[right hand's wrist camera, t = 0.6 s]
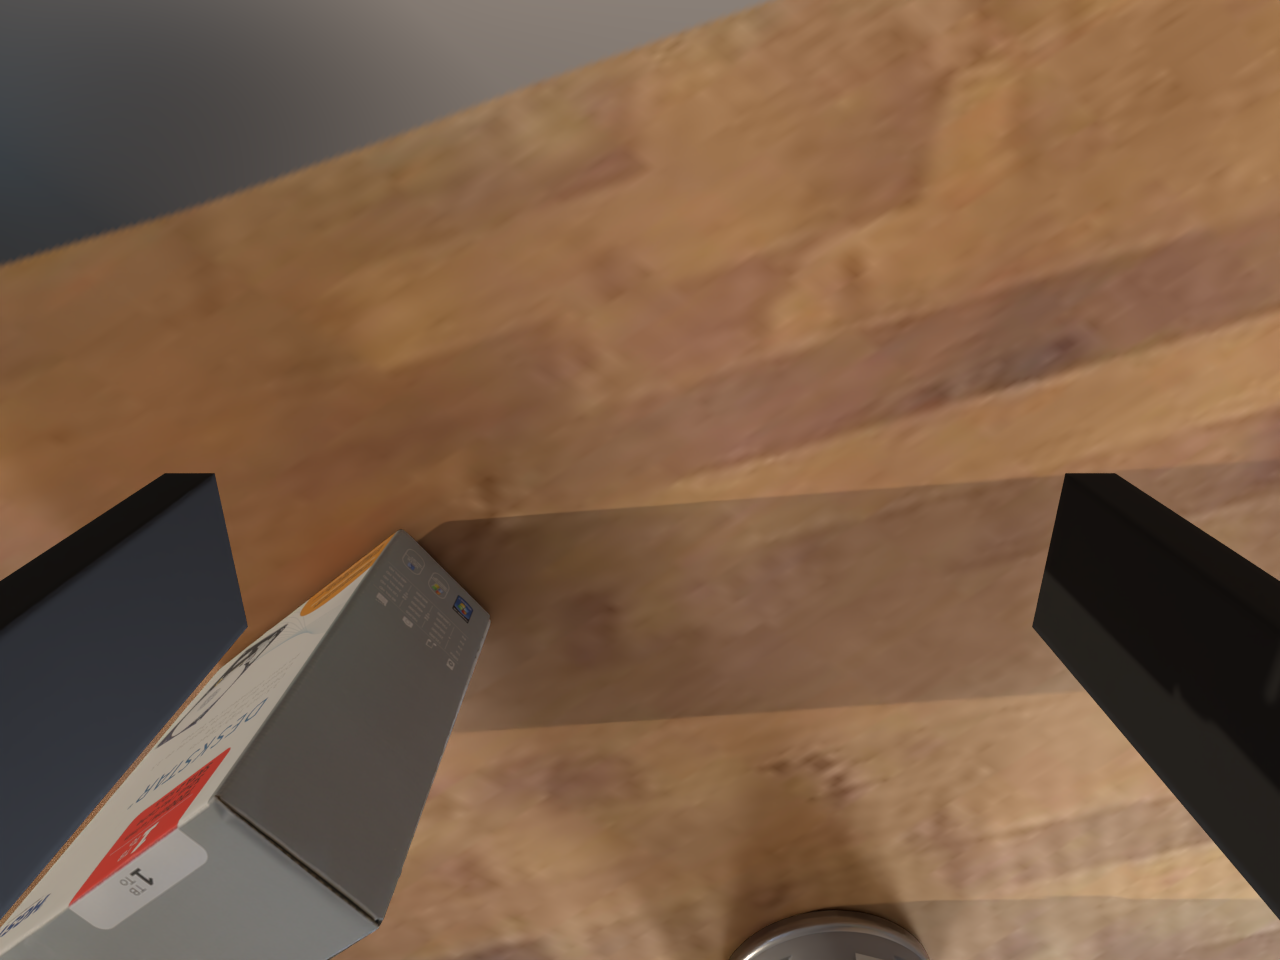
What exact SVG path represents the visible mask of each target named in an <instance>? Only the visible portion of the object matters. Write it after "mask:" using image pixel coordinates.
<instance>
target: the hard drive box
mask: <svg viewBox="0 0 1280 960" xmlns="http://www.w3.org/2000/svg"><path fill="white" fill-rule="evenodd" d="M489 618H490V615H489V614H488V613H487V612H486V611H485V610H484V609H483V608H482V607H481V606H480V605H479V604H478V603H477V602H476V601H475V600H474V599H473V598H472V597H471V596H470V595H469V594H468V593H467V592H466V591H465V590H464V589H463V588H462V587H461V586H460V585H459V584H458V583H457V582H456V581H455V580H454V579H453V578H452V577H451V576H450V575H449V574H448V573H447V572H446V571H445V570H444V569H443V568H442V567H441V566H440V565H439V564H438V563H437V562H436V561H435V560H434V559H433V558H432V557H431V556H430V555H429V554H428V553H427V552H426V551H425V550H424V549H423V548H422V547H421V546H420V545H419V544H418V543H417V542H416V541H415V540H414V539H413V538H412V537H411V536H410V535H409V534H408V533H407V532H405V531H404V530H401V529H400V530H398V531H397V532H395V533H394V534H393V535H391V536H390V537H389V538H387V539H386V540H385V541H383V542H382V543H381V544H380V545H378V546H377V547H376V548H374V549H373V550H372V551H371V552H369V553H368V554H367V555H365V556H364V557H363V558H361V559H360V560H359V561H357V562H356V563H355V564H354V565H352V566H351V567H350V568H349V569H347V570H346V571H345V572H343V573H342V574H341V575H340V576H338V577H337V578H336V579H335V580H333V581H332V582H331V583H329V584H328V585H327V586H326V587H324V588H323V589H322V590H320V591H319V592H318V593H317V594H315V595H314V596H313V597H312V598H310V599H309V600H308V601H306V602H305V603H304V604H302V605H301V606H300V607H298V608H297V609H296V610H295V611H293V612H292V613H291V614H290V615H288V616H287V617H286V618H284V619H283V620H282V621H280V622H279V623H278V624H277V625H275V626H274V627H273V628H271V629H270V630H268V631H267V632H266V633H265V634H263V635H262V636H261V637H260V638H259V639H257V640H256V641H255V642H253V643H252V644H251V645H249V646H248V647H247V648H246V649H244V650H243V651H242V652H241V653H239V654H238V655H237V656H236V657H235V658H233V659H232V660H231V661H229V662H228V663H227V664H225V665H224V666H223V667H222V668H220V669H219V671H218V672H217V673H216V674H215V675H214V676H213V677H212V678H211V680H210V681H209V682H208V683H207V684H206V686H205V687H204V688H203V689H202V690H201V691H200V693H199V694H198V695H197V696H196V697H195V698H194V700H193V701H192V702H191V703H190V704H189V705H188V706H187V708H186V709H185V710H184V711H183V712H182V714H181V715H180V716H179V717H178V718H177V719H176V721H175V722H174V723H173V724H172V725H171V727H170V728H169V729H168V730H167V731H166V733H165V734H164V735H163V736H162V737H161V739H160V740H159V741H158V742H157V743H156V745H155V746H154V747H153V748H152V749H151V751H150V752H149V753H148V754H147V755H146V757H145V758H144V759H143V760H142V761H141V762H140V764H139V765H138V766H137V767H136V768H135V770H134V771H133V772H132V773H131V774H130V776H129V777H128V778H127V779H126V780H125V781H124V783H123V784H122V785H121V786H120V787H119V788H118V790H117V791H116V792H115V793H114V794H113V795H112V797H111V798H110V799H109V800H108V801H107V803H106V804H105V805H104V806H103V807H102V809H101V810H100V811H99V812H98V813H97V815H96V816H95V817H94V818H93V819H92V820H91V822H90V823H89V824H88V825H87V826H86V827H85V829H84V830H83V831H82V832H81V833H80V834H79V835H78V837H77V838H76V839H75V840H74V841H73V843H72V844H71V845H70V846H69V847H68V849H67V850H66V851H65V852H64V853H63V854H62V856H61V857H60V858H59V859H58V860H57V862H56V863H55V864H54V865H53V866H52V867H51V869H50V870H49V871H48V872H47V873H46V875H45V876H44V877H43V878H42V879H41V880H40V882H39V883H38V884H37V885H36V886H35V888H34V889H33V890H32V891H31V892H30V893H29V895H28V896H27V897H26V898H25V899H24V901H23V902H22V903H21V904H20V905H19V906H18V908H17V909H16V910H15V911H14V912H13V914H12V915H11V916H10V917H9V918H8V920H7V921H6V922H5V923H4V924H3V925H2V926H1V928H0V960H330V959H331V958H333V957H335V956H336V955H338V954H339V953H341V952H342V951H344V950H346V949H347V948H349V947H350V946H352V945H353V944H355V943H357V942H358V941H360V940H361V939H363V938H364V937H366V936H367V935H369V934H371V933H372V932H374V931H375V930H377V929H378V928H379V926H380V924H381V922H382V920H383V919H384V917H385V914H386V911H387V908H388V906H389V903H390V900H391V898H392V895H393V893H394V890H395V887H396V884H397V881H398V879H399V877H400V875H401V872H402V867H403V864H404V861H405V859H406V856H407V853H408V850H409V847H410V844H411V841H412V839H413V837H414V833H415V830H416V828H417V825H418V822H419V819H420V817H421V814H422V811H423V808H424V805H425V803H426V800H427V797H428V794H429V791H430V789H431V786H432V783H433V780H434V778H435V775H436V772H437V770H438V767H439V764H440V761H441V759H442V756H443V753H444V751H445V748H446V745H447V742H448V740H449V737H450V734H451V731H452V728H453V726H454V723H455V720H456V717H457V715H458V712H459V709H460V706H461V704H462V701H463V698H464V695H465V693H466V690H467V687H468V685H469V682H470V679H471V676H472V674H473V671H474V668H475V665H476V663H477V660H478V657H479V654H480V652H481V649H482V646H483V643H484V641H485V638H486V635H487V632H488V630H489V627H490V623H491V620H490V619H489Z"/></svg>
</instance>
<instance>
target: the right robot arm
mask: <svg viewBox="0 0 1280 960" xmlns="http://www.w3.org/2000/svg"><path fill="white" fill-rule="evenodd" d="M247 627H248V626H247V621H246V616H245V612H244V607H243V603H242V598H241V593H240V589H239V584H238V579H237V575H236V570H235V566H234V561H233V556H232V552H231V547H230V543H229V538H228V533H227V529H226V524H225V519H224V515H223V510H222V506H221V501H220V496H219V492H218V487H217V483H216V478H215V473H165V474H163V475H162V476H160V477H159V478H157V479H156V480H154V481H153V482H151V483H149V484H148V485H146V486H145V487H143V488H142V489H140V490H139V491H137V492H136V493H134V494H133V495H131V496H130V497H128V498H127V499H125V500H124V501H122V502H120V503H119V504H117V505H116V506H114V507H113V508H111V509H110V510H108V511H107V512H105V513H104V514H102V515H101V516H99V517H98V518H96V519H95V520H93V521H91V522H90V523H88V524H87V525H85V526H84V527H82V528H81V529H79V530H78V531H76V532H75V533H73V534H72V535H70V536H69V537H67V538H65V539H64V540H62V541H61V542H59V543H58V544H56V545H55V546H53V547H52V548H50V549H49V550H47V551H46V552H44V553H43V554H41V555H40V556H38V557H36V558H35V559H33V560H32V561H30V562H29V563H27V564H26V565H24V566H23V567H21V568H20V569H18V570H17V571H15V572H14V573H12V574H11V575H9V576H7V577H6V578H4V579H3V580H1V581H0V920H1V918H2V917H3V916H4V915H5V914H6V913H7V911H8V910H9V909H10V908H11V907H12V905H13V904H14V903H15V902H16V901H17V899H18V898H19V897H20V896H21V895H22V894H23V892H24V891H25V890H26V889H27V888H28V886H29V885H30V884H31V883H32V882H33V881H34V879H35V878H36V877H37V876H38V875H39V873H40V872H41V871H42V870H43V869H44V867H45V866H46V865H47V864H48V863H49V862H50V860H51V859H52V858H53V857H54V856H55V854H56V853H57V852H58V851H59V850H60V849H61V847H62V846H63V845H64V844H65V843H66V841H67V840H68V839H69V838H70V837H71V836H72V834H73V833H74V832H75V831H76V830H77V828H78V827H79V826H80V825H81V824H82V822H83V821H84V820H85V819H86V818H87V817H88V815H89V814H90V813H91V812H92V811H93V809H94V808H95V807H96V806H97V805H98V804H99V802H100V801H101V800H102V799H103V798H104V796H105V795H106V794H107V793H108V792H109V791H110V789H111V788H112V787H113V786H114V785H115V783H116V782H117V781H118V780H119V779H120V777H121V776H122V775H123V774H124V773H125V772H126V770H127V769H128V768H129V767H130V766H131V764H132V763H133V762H134V761H135V760H136V759H137V757H138V756H139V755H140V754H141V753H142V751H143V750H144V749H145V748H146V747H147V746H148V744H149V743H150V742H151V741H152V740H153V738H154V737H155V736H156V735H157V734H158V732H159V731H160V730H161V729H162V728H163V727H164V725H165V724H166V723H167V722H168V721H169V719H170V718H171V717H172V716H173V715H174V714H175V712H176V711H177V710H178V709H179V708H180V706H181V705H182V704H183V703H184V702H185V701H186V699H187V698H188V697H189V696H190V695H191V693H192V692H193V691H194V690H195V689H196V687H197V686H198V685H199V684H200V683H201V682H202V680H203V679H204V678H205V677H206V676H207V674H208V673H209V672H210V671H211V670H212V669H213V667H214V666H215V665H216V664H217V663H218V661H219V660H220V659H221V658H222V657H223V655H224V654H225V653H226V652H227V651H228V650H229V648H230V647H231V646H232V645H233V644H234V642H235V641H236V640H237V639H238V638H239V637H240V635H241V634H242V633H243V632H244V631H245V629H246V628H247ZM1032 627H1033V628H1034V629H1035V631H1036V632H1037V633H1038V634H1039V635H1040V637H1041V638H1042V639H1043V640H1044V641H1045V642H1046V644H1047V645H1048V646H1049V647H1050V648H1051V650H1052V651H1053V652H1054V653H1055V654H1056V655H1057V657H1058V658H1059V659H1060V660H1061V661H1062V663H1063V664H1064V665H1065V666H1066V667H1067V669H1068V670H1069V671H1070V672H1071V673H1072V674H1073V676H1074V677H1075V678H1076V679H1077V680H1078V682H1079V683H1080V684H1081V685H1082V686H1083V687H1084V689H1085V690H1086V691H1087V692H1088V693H1089V695H1090V696H1091V697H1092V698H1093V699H1094V701H1095V702H1096V703H1097V704H1098V705H1099V706H1100V708H1101V709H1102V710H1103V711H1104V712H1105V714H1106V715H1107V716H1108V717H1109V718H1110V719H1111V721H1112V722H1113V723H1114V724H1115V725H1116V727H1117V728H1118V729H1119V730H1120V731H1121V732H1122V734H1123V735H1124V736H1125V737H1126V738H1127V740H1128V741H1129V742H1130V743H1131V744H1132V746H1133V747H1134V748H1135V749H1136V750H1137V751H1138V753H1139V754H1140V755H1141V756H1142V757H1143V759H1144V760H1145V761H1146V762H1147V763H1148V764H1149V766H1150V767H1151V768H1152V769H1153V770H1154V772H1155V773H1156V774H1157V775H1158V776H1159V777H1160V779H1161V780H1162V781H1163V782H1164V783H1165V785H1166V786H1167V787H1168V788H1169V789H1170V791H1171V792H1172V793H1173V794H1174V795H1175V796H1176V798H1177V799H1178V800H1179V801H1180V802H1181V804H1182V805H1183V806H1184V807H1185V808H1186V809H1187V811H1188V812H1189V813H1190V814H1191V815H1192V817H1193V818H1194V819H1195V820H1196V821H1197V822H1198V824H1199V825H1200V826H1201V827H1202V828H1203V830H1204V831H1205V832H1206V833H1207V834H1208V836H1209V837H1210V838H1211V839H1212V840H1213V841H1214V843H1215V844H1216V845H1217V846H1218V847H1219V849H1220V850H1221V851H1222V852H1223V853H1224V854H1225V856H1226V857H1227V858H1228V859H1229V860H1230V862H1231V863H1232V864H1233V865H1234V866H1235V868H1236V869H1237V870H1238V871H1239V872H1240V873H1241V875H1242V876H1243V877H1244V878H1245V879H1246V881H1247V882H1248V883H1249V884H1250V885H1251V886H1252V888H1253V889H1254V890H1255V891H1256V892H1257V894H1258V895H1259V896H1260V897H1261V898H1262V899H1263V901H1264V902H1265V903H1266V904H1267V905H1268V907H1269V908H1270V909H1271V910H1272V911H1273V913H1274V914H1275V915H1276V916H1277V917H1278V918H1279V920H1280V581H1279V580H1277V579H1276V578H1274V577H1273V576H1271V575H1269V574H1268V573H1266V572H1265V571H1263V570H1262V569H1260V568H1259V567H1257V566H1256V565H1254V564H1253V563H1251V562H1250V561H1248V560H1247V559H1245V558H1244V557H1242V556H1240V555H1239V554H1237V553H1236V552H1234V551H1233V550H1231V549H1230V548H1228V547H1227V546H1225V545H1224V544H1222V543H1221V542H1219V541H1218V540H1216V539H1215V538H1213V537H1211V536H1210V535H1208V534H1207V533H1205V532H1204V531H1202V530H1201V529H1199V528H1198V527H1196V526H1195V525H1193V524H1192V523H1190V522H1189V521H1187V520H1185V519H1184V518H1182V517H1181V516H1179V515H1178V514H1176V513H1175V512H1173V511H1172V510H1170V509H1169V508H1167V507H1166V506H1164V505H1163V504H1161V503H1160V502H1158V501H1156V500H1155V499H1153V498H1152V497H1150V496H1149V495H1147V494H1146V493H1144V492H1143V491H1141V490H1140V489H1138V488H1137V487H1135V486H1134V485H1132V484H1131V483H1129V482H1127V481H1126V480H1124V479H1123V478H1121V477H1120V476H1118V475H1117V474H1115V473H1065V478H1064V483H1063V487H1062V492H1061V496H1060V501H1059V506H1058V510H1057V515H1056V519H1055V524H1054V529H1053V533H1052V538H1051V543H1050V547H1049V552H1048V556H1047V561H1046V566H1045V570H1044V575H1043V579H1042V584H1041V589H1040V593H1039V598H1038V603H1037V607H1036V612H1035V616H1034V621H1033V626H1032ZM729 960H930V959H929V957H928V955H927V952H926V951H925V949H924V948H923V946H922V945H921V944H920V943H919V941H918V940H917V939H916V938H915V937H914V936H913V935H911V934H910V933H909V932H908V931H906V930H905V929H903V928H902V927H900V926H898V925H897V924H895V923H893V922H890V921H888V920H886V919H883V918H880V917H878V916H874V915H870V914H866V913H860V912H854V911H840V910H831V911H817V912H810V913H805V914H800V915H796V916H792V917H789V918H786V919H783V920H780V921H778V922H776V923H773V924H771V925H769V926H767V927H765V928H763V929H762V930H760V931H758V932H757V933H755V934H754V935H752V936H751V937H750V938H748V939H747V940H746V941H745V942H744V943H742V944H741V945H740V946H739V947H738V949H737V950H736V951H735V952H734V953H733V954H732V956H731V957H730V959H729Z"/></svg>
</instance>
